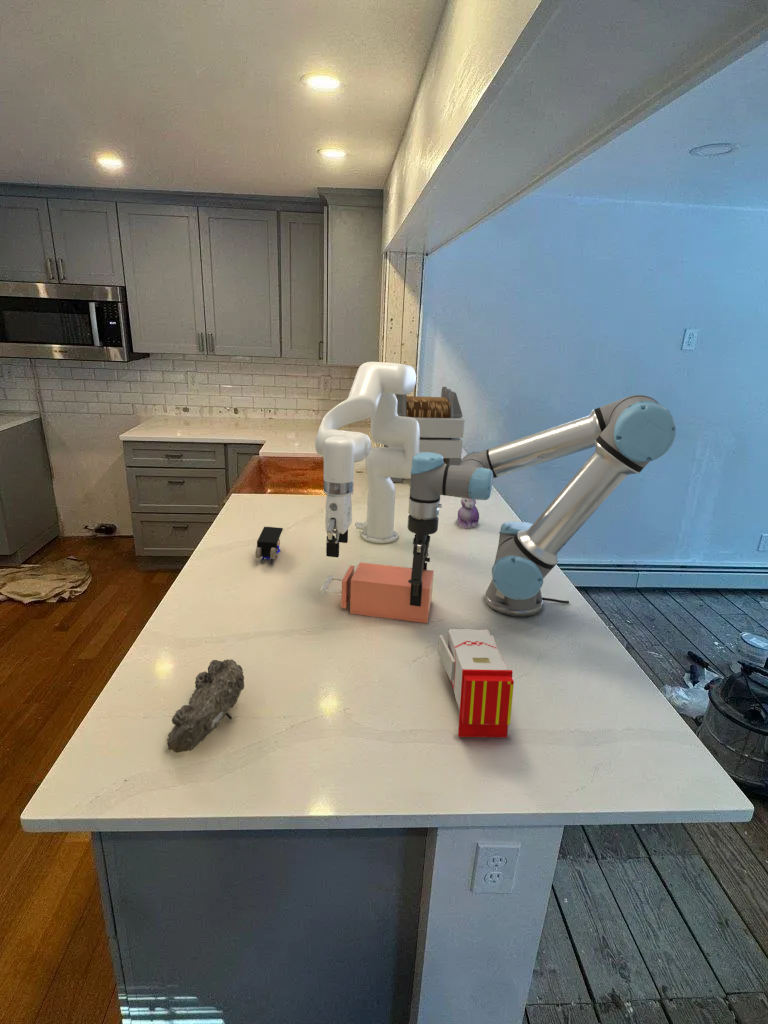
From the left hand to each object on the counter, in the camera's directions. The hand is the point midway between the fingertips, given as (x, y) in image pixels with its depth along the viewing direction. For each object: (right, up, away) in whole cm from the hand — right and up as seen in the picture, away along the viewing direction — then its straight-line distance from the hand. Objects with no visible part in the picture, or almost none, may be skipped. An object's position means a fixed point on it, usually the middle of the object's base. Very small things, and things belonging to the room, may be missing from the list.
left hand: (337, 549), depth 148 cm
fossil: (-21, -29, -40) cm, 54 cm away
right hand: (+21, -12, 0) cm, 24 cm away
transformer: (+29, +28, +127) cm, 134 cm away
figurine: (+43, +5, +63) cm, 77 cm away
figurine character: (-24, -4, +29) cm, 38 cm away
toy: (+30, -28, -29) cm, 50 cm away
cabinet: (+14, -16, +2) cm, 21 cm away
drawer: (+8, -14, +3) cm, 17 cm away
